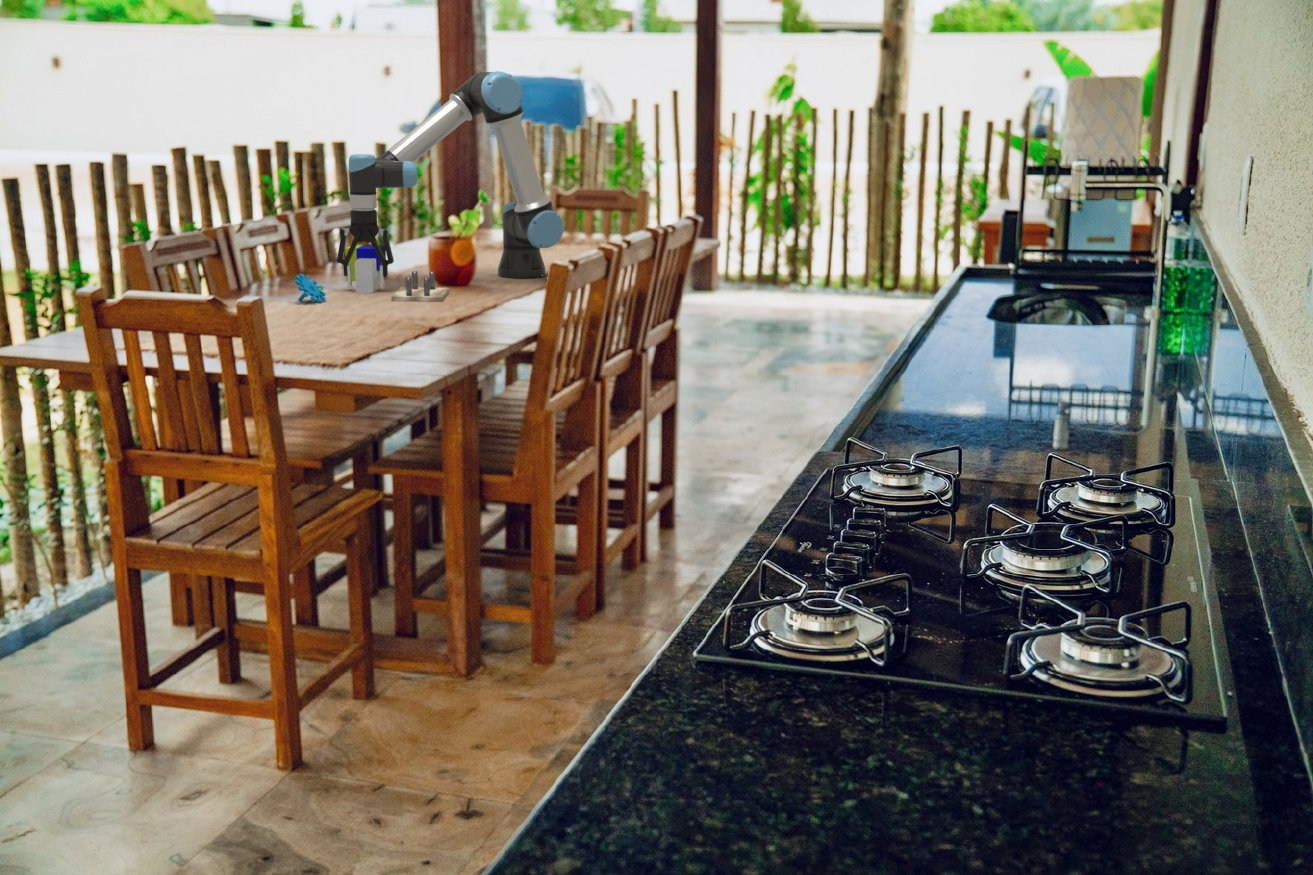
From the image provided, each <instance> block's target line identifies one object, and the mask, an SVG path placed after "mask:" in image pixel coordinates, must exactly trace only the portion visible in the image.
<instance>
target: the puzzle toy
mask: <svg viewBox="0 0 1313 875" xmlns="http://www.w3.org/2000/svg"><path fill="white" fill-rule="evenodd" d="M350 246H351V245H350ZM350 246H347V247H346V248H345V249H344V252H345V256H346V255H347V253H348V251H349V249H350ZM379 246H380V248H381V250H382V252H383V254H384V256H385V258H386V259H387V254H386V250H385V246H384V244H383V245H382V244H379ZM359 258H366V259H376V271H377V281H378V282H379V281H380V266H381V265H382V263H381V261H380V259H379V257H378V255H377V253H376V251H375V249H374V247H373V245H372V244H357V246H356V248H355V250H354V252H353V255H352V257H351V259H350V261H349V265H351V266H352V282H355V261H356V260H357V259H359ZM386 278H387V277H384V279H386ZM346 282H348V276H346ZM378 282H377V283H378ZM379 283H380V282H379Z"/></svg>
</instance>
